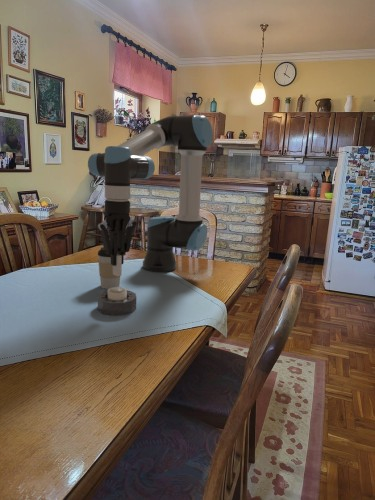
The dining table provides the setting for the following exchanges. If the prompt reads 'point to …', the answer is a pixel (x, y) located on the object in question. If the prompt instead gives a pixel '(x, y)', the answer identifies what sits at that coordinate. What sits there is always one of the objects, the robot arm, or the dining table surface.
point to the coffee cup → (107, 271)
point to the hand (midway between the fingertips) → (117, 274)
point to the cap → (117, 293)
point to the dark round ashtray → (116, 304)
